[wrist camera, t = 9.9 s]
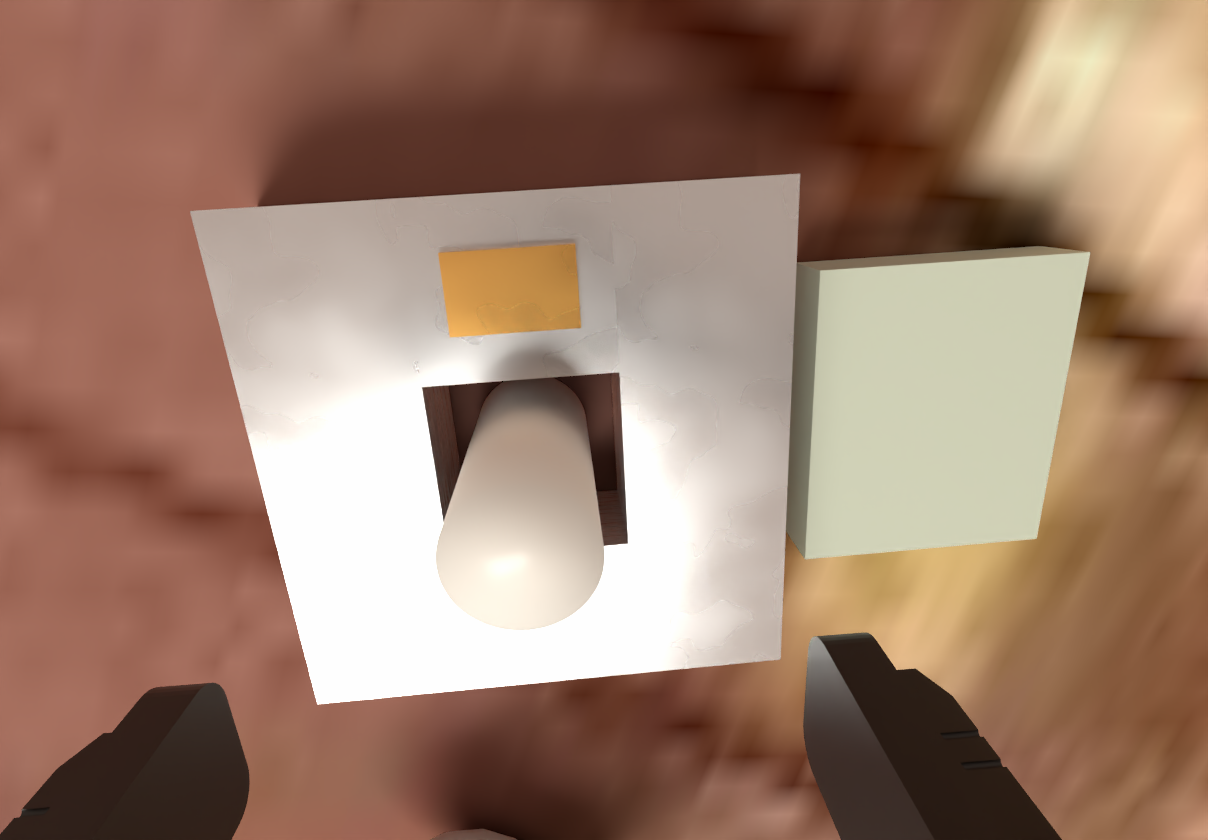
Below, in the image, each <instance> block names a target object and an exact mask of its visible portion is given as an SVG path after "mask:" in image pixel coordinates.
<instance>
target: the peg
mask: <svg viewBox="0 0 1208 840" xmlns="http://www.w3.org/2000/svg"><path fill="white" fill-rule="evenodd" d="M435 560H436V569H437V573H438V577H439V580H440V582H441V585H442V587H443V589H444V590H445V592H446V594H447V595H448V596H449V598H450V599H451V600H452V602H453V603H454V604H455V605H456V606H457V607H458V608H459V609H460V610H462V611H463V612H464V613H466V614H467V615H468V616H470V617H472V618H473V619H475V620H477V621H479V622H481V623H484V624H486V625H489V626H492V627H495V628H500V629H505V630H515V631H524V630H535V629H540V628H544V627H548V626H551V625H554V624H556V623H559V622H561V621H563V620H565V619H567V618H568V617H570V616H571V615H573V614H574V613H576V612H577V611H578V610H579V609H580V608H582V607H583V606H584V605H585V604H586V603H587V601H588V600H589V599H590V598H591V596H592V595H593V594H594V592H595V591H596V589H597V587H598V585H599V583H600V580H601V577H602V574H603V569H604V563H605V552H604V544H603V537H602V530H601V522H600V515H599V508H598V501H597V494H596V486H595V479H594V472H593V465H592V457H591V450H590V443H589V436H588V428H587V421H586V415H585V411H584V408H583V406H582V403H581V402H580V400H579V398H578V397H577V395H576V394H575V393H574V392H573V391H572V390H571V389H570V388H569V387H568V386H567V385H565V384H564V383H562V382H561V381H559V380H557V379H555V378H552V377H550V378H537V379H524V380H510V381H504V382H502V383H501V384H499V385H498V386H497V387H495V388H494V389H493V390H492V391H491V393H490V394H489V395H488V396H487V398H486V400H485V401H484V403H483V406H482V408H481V411H480V414H479V417H478V420H477V423H476V426H475V429H474V432H473V435H472V438H471V441H470V444H469V447H468V450H467V453H466V456H465V459H464V462H463V465H462V468H461V471H460V474H459V477H458V480H457V483H456V486H455V489H454V492H453V495H452V498H451V501H450V504H449V507H448V510H447V513H446V516H445V519H444V522H443V525H442V528H441V531H440V534H439V537H438V541H437V546H436V555H435Z"/></svg>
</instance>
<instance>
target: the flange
mask: <svg viewBox="0 0 1208 840" xmlns="http://www.w3.org/2000/svg"><path fill="white" fill-rule="evenodd" d="M799 192H800V174H785V175H767V176H750V177H734V178H718V179H701V180H685V181H669V182H652V183H636V184H620V185H603V186H587V187H571V188H555V189H538V190H522V191H506V192H489V193H473V194H457V195H441V196H424V197H408V198H392V199H375V200H359V201H343V202H326V203H310V204H294V205H278V206H261V207H246V208H230V209H215V210H200V211H190V213H191V217H192V221H193V225H194V228H195V232H196V236H197V240H198V244H199V248H200V252H201V255H202V259H203V263H204V267H205V271H206V275H207V279H208V283H209V286H210V290H211V294H212V298H213V302H214V306H215V310H216V313H217V317H218V321H219V325H220V329H221V333H222V337H223V341H224V344H225V348H226V352H227V356H228V360H229V364H230V368H231V371H232V375H233V379H234V383H235V387H236V391H237V395H238V399H239V402H240V406H241V410H242V414H243V418H244V422H245V426H246V429H247V433H248V437H249V441H250V445H251V449H252V453H253V457H254V460H255V464H256V468H257V472H258V476H259V480H260V484H261V488H262V491H263V495H264V499H265V503H266V507H267V511H268V515H269V518H270V522H271V526H272V530H273V534H274V538H275V542H276V546H277V549H278V553H279V557H280V561H281V565H282V569H283V573H284V576H285V580H286V584H287V588H288V592H289V596H290V600H291V604H292V607H293V611H294V615H295V619H296V623H297V627H298V631H299V634H300V638H301V642H302V646H303V650H304V654H305V658H306V662H307V665H308V669H309V673H310V677H311V681H312V685H313V689H314V692H315V696H316V700H317V704H324V703H334V702H344V701H355V700H365V699H375V698H386V697H396V696H407V695H417V694H427V693H438V692H448V691H458V690H469V689H479V688H489V687H500V686H510V685H520V684H531V683H541V682H552V681H562V680H572V679H583V678H593V677H603V676H614V675H624V674H634V673H645V672H655V671H665V670H676V669H686V668H697V667H707V666H717V665H728V664H738V663H748V662H759V661H769V660H779V659H780V658H781V633H782V609H783V584H784V560H785V535H786V511H787V486H788V462H789V437H790V413H791V388H792V364H793V339H794V315H795V290H796V266H797V241H798V217H799ZM604 373H611V389H612V407H613V424H614V442H615V460H616V478H617V490H609V491H597V492H596V494H597V501H598V508H599V515H600V522H601V530H602V537H603V544H604V552H605V563H604V569H603V574H602V577H601V580H600V583H599V585H598V587H597V589H596V591H595V592H594V594H593V595H592V596H591V598H590V599H589V600H588V601H587V603H586V604H585V605H584V606H583V607H582V608H580V609H579V610H578V611H577V612H576V613H574V614H573V615H571V616H570V617H568V618H567V619H565V620H563V621H561V622H559V623H556V624H554V625H551V626H548V627H544V628H540V629H535V630H524V631H515V630H505V629H500V628H495V627H492V626H489V625H486V624H484V623H481V622H479V621H477V620H475V619H473V618H472V617H470V616H468V615H467V614H466V613H464V612H463V611H462V610H460V609H459V608H458V607H457V606H456V605H455V604H454V603H453V602H452V600H451V599H450V598H449V596H448V595H447V594H446V592H445V590H444V589H443V587H442V585H441V582H440V580H439V577H438V573H437V569H436V560H435V555H436V546H437V541H438V537H439V534H440V531H441V528H442V525H443V522H444V519H445V516H446V513H447V510H448V507H449V504H450V501H451V498H452V495H453V492H454V489H455V486H456V483H457V480H458V477H459V474H460V471H461V469H460V462H459V455H458V448H457V441H456V434H455V427H454V420H453V413H452V406H451V399H450V392H449V386H448V385H457V384H470V383H484V382H497V381H510V380H524V379H537V378H550V377H564V376H577V375H590V374H604Z"/></svg>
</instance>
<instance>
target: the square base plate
mask: <svg viewBox="0 0 1208 840" xmlns="http://www.w3.org/2000/svg"><path fill="white" fill-rule="evenodd" d="M1089 257H1090V252H1085V251H1077V250H1069V249H1060V248H1052V247H1044V246H1033V247H1018V248H1003V249H989V250H974V251H959V252H945V253H930V254H915V255H900V256H886V257H871V258H856V259H841V260H827V261H812V262H797V266H796V290H795V315H794V339H793V364H792V388H791V413H790V437H789V462H788V486H787V511H786V532H787V533H788V535H789V536H790V538H791V539H792V541H793V542H794V544H795V545H796V547H797V548H798V550H799V551H800V553H801V554H802V556H803V557H804V559H815V558H826V557H837V556H848V555H859V554H871V553H882V552H893V551H904V550H915V549H926V548H938V547H949V546H960V545H971V544H982V543H994V542H1005V541H1016V540H1027V539H1037V533H1038V528H1039V523H1040V517H1041V512H1042V507H1043V501H1044V496H1045V491H1046V485H1047V480H1048V475H1049V469H1050V464H1051V459H1052V454H1053V448H1054V443H1055V438H1056V432H1057V427H1058V422H1059V416H1060V411H1061V406H1062V400H1063V395H1064V390H1065V384H1066V379H1067V374H1068V368H1069V363H1070V358H1071V352H1072V347H1073V342H1074V336H1075V331H1076V326H1077V321H1078V315H1079V310H1080V305H1081V299H1082V294H1083V289H1084V283H1085V278H1086V273H1087V267H1088V262H1089Z"/></svg>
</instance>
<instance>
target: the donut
mask: <svg viewBox="0 0 1208 840" xmlns="http://www.w3.org/2000/svg"><path fill="white" fill-rule="evenodd" d="M430 840H517V839H515V838H513V837H510V836H506V835H503V834H500V833H496V832H493V831H490V830H486V829H473V830H459V831H450V832H445V833H442V834H440V835H438V836H436V837H434V838H432V839H430Z"/></svg>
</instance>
